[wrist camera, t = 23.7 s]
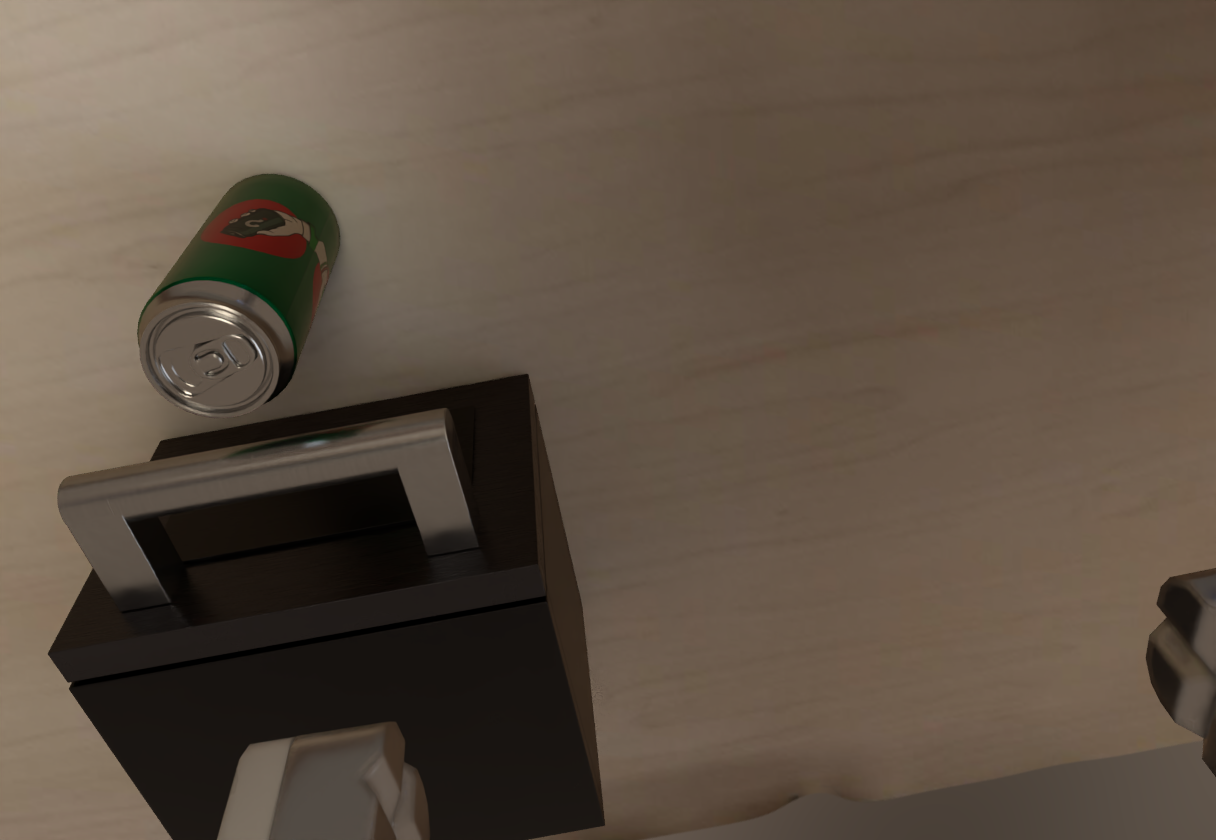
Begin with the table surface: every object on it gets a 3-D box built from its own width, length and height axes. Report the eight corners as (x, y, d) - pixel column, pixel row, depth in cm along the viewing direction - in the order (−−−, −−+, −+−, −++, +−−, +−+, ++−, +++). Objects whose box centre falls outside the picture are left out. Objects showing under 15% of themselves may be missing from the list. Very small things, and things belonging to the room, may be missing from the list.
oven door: (109, 341, 42) (-34, 539, 31) (503, 269, 42) (506, 441, 31) (173, 466, 46) (67, 683, 35) (534, 401, 46) (546, 596, 35)
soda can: (194, 197, 40) (91, 327, 29) (302, 150, 39) (234, 266, 29) (262, 298, 42) (188, 449, 32) (363, 255, 42) (320, 396, 32)
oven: (176, 469, 47) (67, 689, 35) (535, 403, 47) (547, 602, 35) (274, 663, 54) (211, 897, 42) (582, 607, 54) (605, 826, 42)
